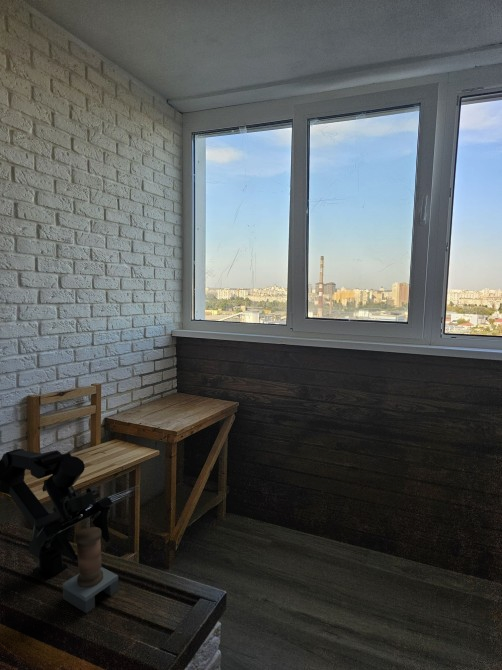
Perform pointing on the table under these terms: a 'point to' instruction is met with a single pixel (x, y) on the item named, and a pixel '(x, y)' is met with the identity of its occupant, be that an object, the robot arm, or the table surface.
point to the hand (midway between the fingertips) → (92, 550)
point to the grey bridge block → (89, 591)
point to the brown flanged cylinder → (89, 557)
